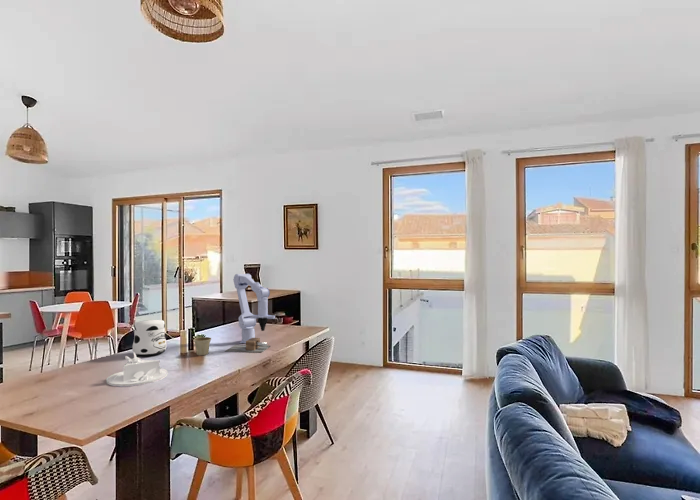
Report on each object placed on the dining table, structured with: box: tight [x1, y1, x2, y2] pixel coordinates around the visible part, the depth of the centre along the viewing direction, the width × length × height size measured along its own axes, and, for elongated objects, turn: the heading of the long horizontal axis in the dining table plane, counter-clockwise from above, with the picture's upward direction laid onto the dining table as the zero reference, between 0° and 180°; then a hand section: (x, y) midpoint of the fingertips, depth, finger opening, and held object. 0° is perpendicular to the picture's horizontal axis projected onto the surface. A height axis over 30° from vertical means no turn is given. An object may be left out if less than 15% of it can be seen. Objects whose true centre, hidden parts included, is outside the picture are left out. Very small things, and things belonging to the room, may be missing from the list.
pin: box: [256, 341, 268, 346], centre depth 241 cm, size 4×12×4 cm, turn 83°
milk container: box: [132, 319, 168, 357], centre depth 230 cm, size 17×17×18 cm
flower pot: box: [193, 336, 212, 356], centre depth 230 cm, size 9×9×9 cm
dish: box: [106, 351, 169, 388], centre depth 187 cm, size 25×25×11 cm
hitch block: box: [224, 337, 271, 354], centre depth 242 cm, size 16×22×6 cm
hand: (262, 330), depth 247 cm, fingers closed
